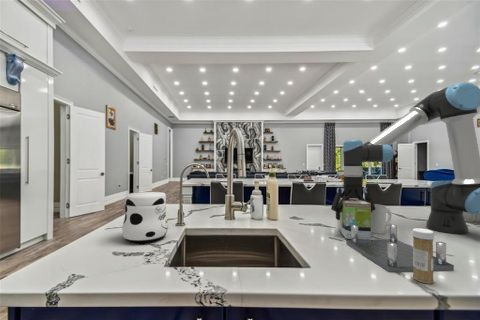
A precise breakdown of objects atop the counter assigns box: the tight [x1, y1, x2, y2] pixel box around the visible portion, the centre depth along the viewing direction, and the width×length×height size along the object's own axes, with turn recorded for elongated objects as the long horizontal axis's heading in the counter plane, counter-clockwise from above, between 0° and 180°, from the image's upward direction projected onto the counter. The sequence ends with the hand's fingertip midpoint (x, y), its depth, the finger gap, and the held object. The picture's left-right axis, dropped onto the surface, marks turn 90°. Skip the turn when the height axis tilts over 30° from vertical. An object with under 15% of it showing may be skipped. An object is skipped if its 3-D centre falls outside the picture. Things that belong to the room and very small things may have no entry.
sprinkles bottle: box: [412, 227, 435, 284], centre depth 65 cm, size 5×5×14 cm
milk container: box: [121, 191, 169, 243], centre depth 99 cm, size 17×17×18 cm
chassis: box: [345, 223, 455, 273], centre depth 82 cm, size 20×24×8 cm
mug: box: [371, 203, 392, 235], centre depth 110 cm, size 10×7×12 cm, turn 94°
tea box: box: [337, 197, 372, 240], centre depth 104 cm, size 15×10×15 cm
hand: (353, 227), depth 104 cm, fingers closed on tea box, 11 cm apart
